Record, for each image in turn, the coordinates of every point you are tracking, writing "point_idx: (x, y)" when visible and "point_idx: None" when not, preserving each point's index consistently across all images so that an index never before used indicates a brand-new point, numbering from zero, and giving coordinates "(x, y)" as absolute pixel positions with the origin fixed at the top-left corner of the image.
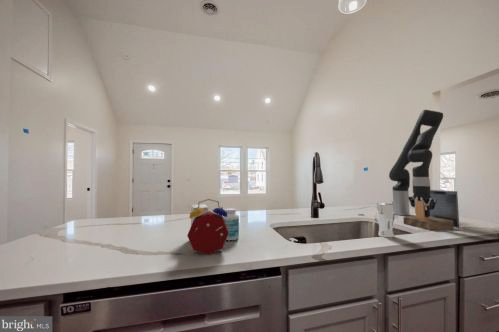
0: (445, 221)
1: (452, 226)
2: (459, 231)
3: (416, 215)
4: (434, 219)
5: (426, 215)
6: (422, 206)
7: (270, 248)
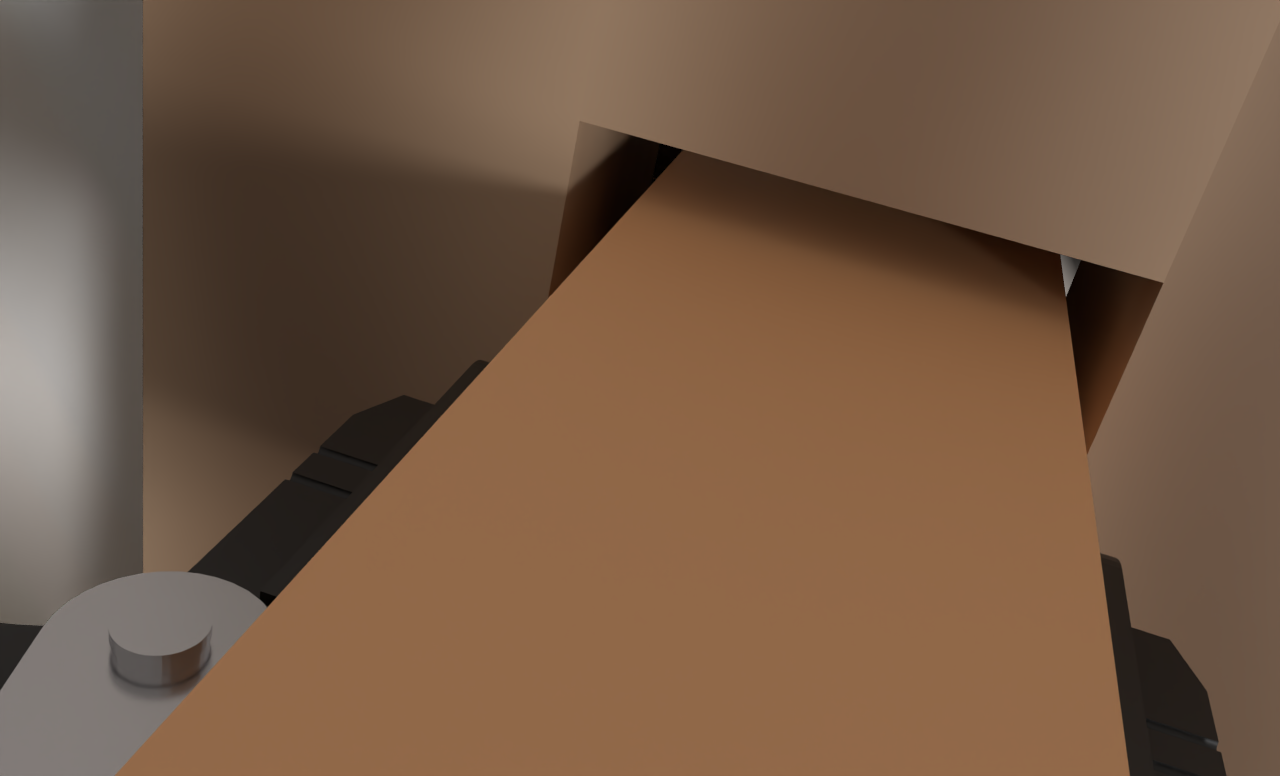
0: None
1: None
2: (21, 460)
3: (1053, 409)
4: None
5: None
6: (210, 748)
7: None
